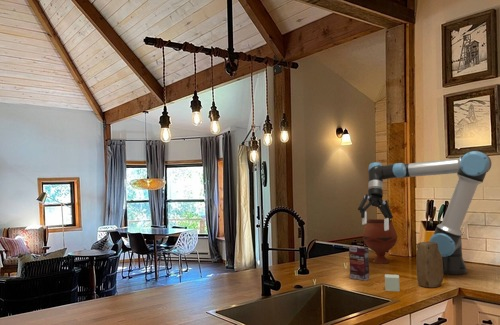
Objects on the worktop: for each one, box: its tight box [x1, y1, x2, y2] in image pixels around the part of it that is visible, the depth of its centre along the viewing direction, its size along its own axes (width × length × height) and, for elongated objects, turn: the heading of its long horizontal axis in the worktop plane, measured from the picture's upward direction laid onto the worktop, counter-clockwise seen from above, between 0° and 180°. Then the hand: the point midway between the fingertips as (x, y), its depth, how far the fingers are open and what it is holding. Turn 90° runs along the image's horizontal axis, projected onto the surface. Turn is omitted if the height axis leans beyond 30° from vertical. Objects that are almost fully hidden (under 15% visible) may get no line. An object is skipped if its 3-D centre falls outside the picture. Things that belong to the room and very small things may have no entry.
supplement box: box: [348, 245, 370, 281], centre depth 207 cm, size 9×5×16 cm, turn 47°
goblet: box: [362, 218, 398, 265], centre depth 245 cm, size 19×19×25 cm
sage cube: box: [384, 273, 401, 292], centre depth 186 cm, size 6×6×6 cm
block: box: [415, 240, 444, 289], centre depth 191 cm, size 11×8×20 cm
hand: (375, 227), depth 214 cm, fingers open, 13 cm apart
